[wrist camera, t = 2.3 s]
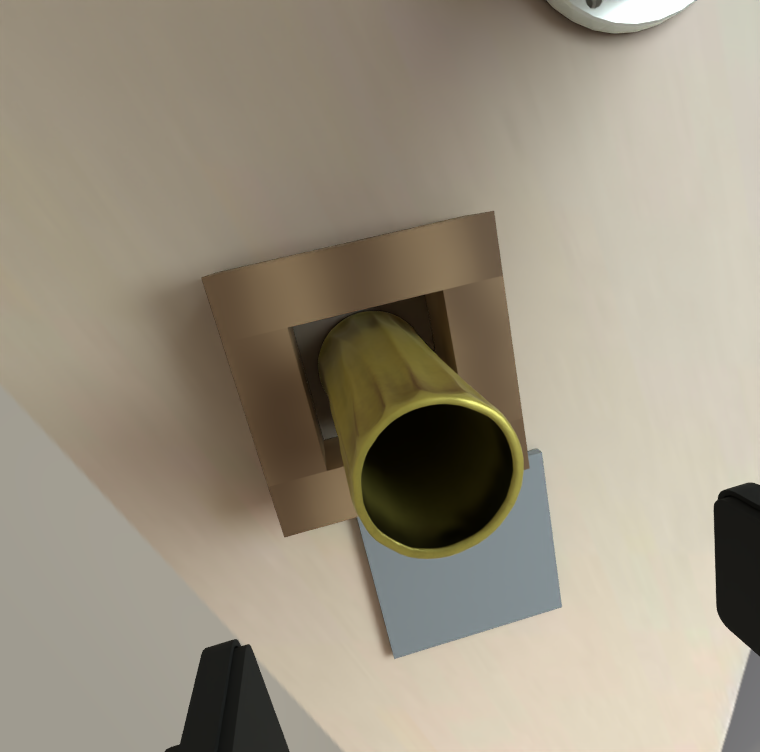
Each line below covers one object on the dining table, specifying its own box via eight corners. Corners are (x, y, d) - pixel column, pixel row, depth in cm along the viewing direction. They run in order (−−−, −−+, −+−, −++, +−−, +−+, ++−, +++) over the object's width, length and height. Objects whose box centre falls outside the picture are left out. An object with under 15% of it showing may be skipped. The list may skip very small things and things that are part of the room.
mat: (537, 448, 31) (541, 452, 30) (557, 601, 34) (561, 607, 34) (352, 499, 30) (353, 504, 29) (392, 651, 33) (394, 658, 33)
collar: (465, 215, 26) (493, 211, 22) (500, 440, 30) (529, 468, 26) (216, 272, 25) (201, 277, 21) (286, 498, 29) (284, 537, 25)
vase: (343, 431, 28) (382, 604, 15) (299, 336, 27) (297, 434, 13) (438, 389, 29) (563, 521, 15) (401, 292, 27) (505, 343, 13)
